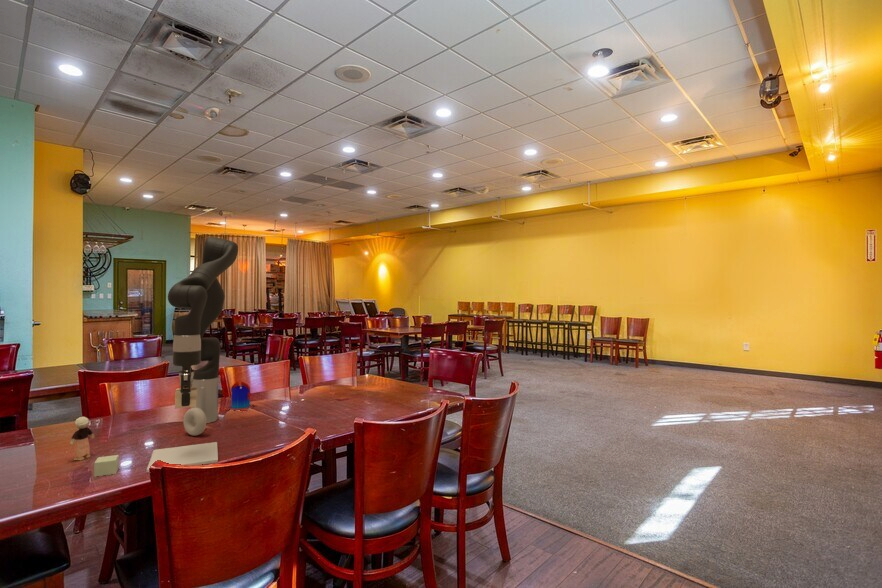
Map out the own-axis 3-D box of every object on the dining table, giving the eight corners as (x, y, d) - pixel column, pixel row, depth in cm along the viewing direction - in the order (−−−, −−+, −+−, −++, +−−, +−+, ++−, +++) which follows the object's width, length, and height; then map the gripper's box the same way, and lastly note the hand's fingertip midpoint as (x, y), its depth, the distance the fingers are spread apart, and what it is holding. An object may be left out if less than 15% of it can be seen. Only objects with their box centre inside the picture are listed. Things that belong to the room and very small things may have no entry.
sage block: (97, 471, 125) (97, 457, 125) (118, 468, 127) (118, 454, 127) (94, 477, 121) (94, 463, 121) (115, 474, 123) (115, 460, 123)
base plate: (153, 452, 140) (153, 449, 140) (217, 444, 149) (217, 441, 149) (146, 472, 124) (146, 469, 124) (217, 462, 133) (217, 459, 133)
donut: (208, 436, 157) (209, 408, 157) (199, 438, 154) (200, 410, 154) (189, 432, 161) (190, 404, 161) (180, 434, 158) (181, 407, 158)
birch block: (176, 404, 138) (176, 388, 138) (196, 402, 140) (196, 387, 140) (174, 408, 133) (175, 392, 133) (196, 406, 135) (196, 390, 135)
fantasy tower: (219, 410, 192) (220, 383, 192) (236, 404, 203) (237, 378, 203) (244, 412, 190) (245, 384, 190) (260, 405, 201) (260, 379, 202)
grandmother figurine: (83, 454, 138) (84, 413, 138) (96, 454, 138) (97, 413, 138) (64, 463, 130) (65, 420, 130) (78, 463, 130) (79, 420, 130)
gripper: (200, 351, 132) (199, 407, 132) (201, 346, 145) (200, 397, 145) (171, 352, 129) (170, 410, 128) (174, 347, 141) (173, 400, 141)
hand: (186, 403), depth 137 cm, fingers closed on birch block, 5 cm apart
